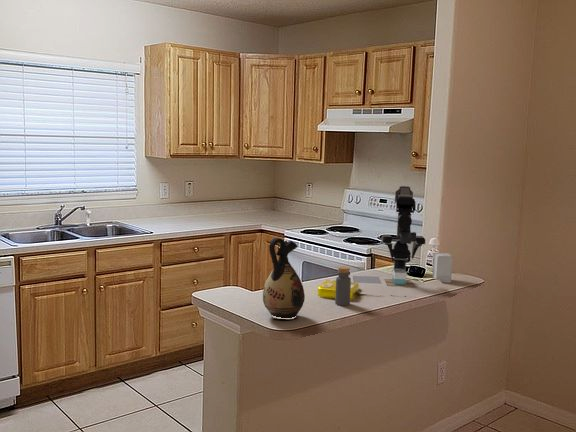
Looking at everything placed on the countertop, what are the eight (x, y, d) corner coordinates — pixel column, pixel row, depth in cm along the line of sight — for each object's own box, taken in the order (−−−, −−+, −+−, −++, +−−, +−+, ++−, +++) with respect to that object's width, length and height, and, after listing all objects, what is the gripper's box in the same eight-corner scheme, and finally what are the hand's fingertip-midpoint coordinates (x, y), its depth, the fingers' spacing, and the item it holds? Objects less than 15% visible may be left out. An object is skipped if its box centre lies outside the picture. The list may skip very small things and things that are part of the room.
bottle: (345, 307, 233) (347, 269, 231) (332, 304, 236) (334, 267, 234) (352, 303, 238) (353, 267, 236) (339, 300, 241) (340, 265, 239)
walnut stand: (383, 282, 273) (383, 279, 272) (409, 283, 272) (410, 279, 272) (387, 289, 261) (387, 285, 261) (414, 290, 260) (414, 286, 260)
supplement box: (451, 282, 275) (453, 256, 273) (435, 282, 275) (437, 255, 273) (447, 278, 282) (449, 253, 280) (431, 278, 282) (433, 252, 280)
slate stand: (352, 278, 277) (352, 275, 277) (378, 279, 277) (378, 276, 276) (354, 285, 265) (354, 282, 265) (381, 286, 265) (381, 283, 265)
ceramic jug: (284, 308, 229) (286, 232, 225) (312, 318, 218) (315, 238, 214) (250, 316, 218) (251, 236, 213) (278, 327, 207) (280, 243, 202)
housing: (392, 280, 270) (392, 268, 269) (403, 280, 270) (403, 268, 269) (394, 284, 262) (395, 272, 262) (405, 285, 262) (406, 273, 261)
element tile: (351, 302, 241) (352, 290, 241) (316, 297, 246) (316, 286, 245) (359, 292, 255) (359, 282, 255) (325, 288, 260) (326, 278, 259)
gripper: (385, 226, 254) (383, 262, 257) (428, 227, 254) (426, 263, 256) (382, 222, 265) (380, 256, 267) (423, 223, 265) (421, 257, 267)
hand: (402, 258), depth 264 cm, fingers open, 9 cm apart
